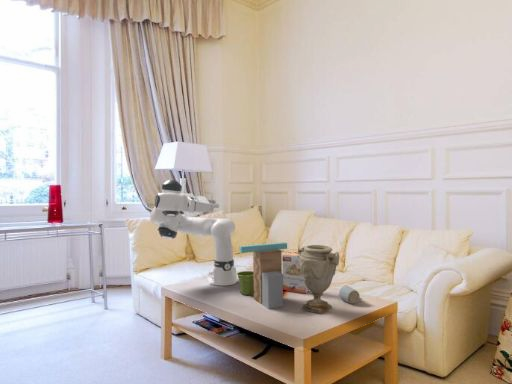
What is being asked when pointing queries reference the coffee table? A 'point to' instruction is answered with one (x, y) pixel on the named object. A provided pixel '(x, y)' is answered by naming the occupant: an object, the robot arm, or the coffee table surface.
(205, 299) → the coffee table surface
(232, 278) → the robot arm
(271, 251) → the walnut tower
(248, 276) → the plant pot
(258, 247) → the teal bar
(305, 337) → the coffee table surface
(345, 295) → the ceramic mug
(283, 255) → the cracker box
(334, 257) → the urn
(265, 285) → the grey block
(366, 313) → the coffee table surface
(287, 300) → the coffee table surface
